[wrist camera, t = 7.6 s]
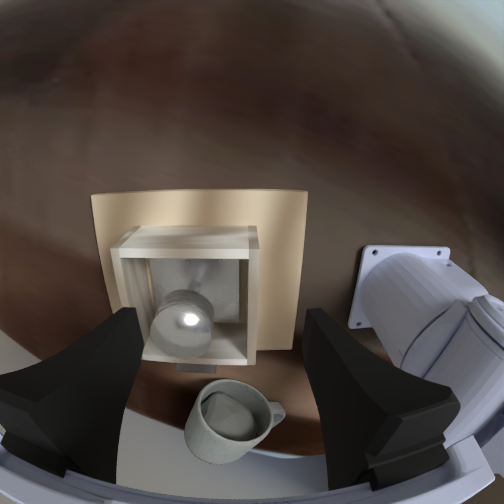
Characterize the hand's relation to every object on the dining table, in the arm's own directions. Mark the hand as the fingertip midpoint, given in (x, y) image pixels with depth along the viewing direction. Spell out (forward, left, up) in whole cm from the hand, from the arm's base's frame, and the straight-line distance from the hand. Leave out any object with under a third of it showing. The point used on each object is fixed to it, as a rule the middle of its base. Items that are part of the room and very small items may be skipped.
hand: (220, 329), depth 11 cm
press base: (+3, +3, -10) cm, 11 cm away
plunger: (+3, +3, -11) cm, 11 cm away
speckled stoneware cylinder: (0, +19, -11) cm, 22 cm away
